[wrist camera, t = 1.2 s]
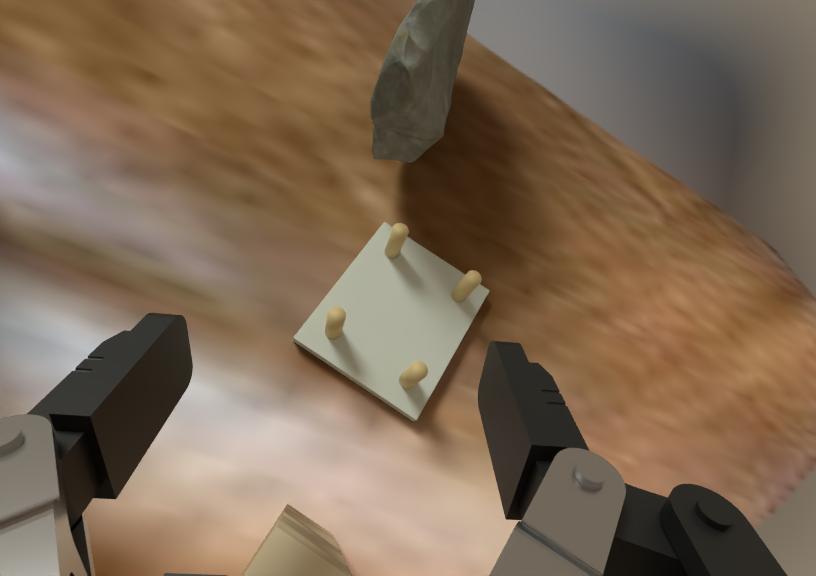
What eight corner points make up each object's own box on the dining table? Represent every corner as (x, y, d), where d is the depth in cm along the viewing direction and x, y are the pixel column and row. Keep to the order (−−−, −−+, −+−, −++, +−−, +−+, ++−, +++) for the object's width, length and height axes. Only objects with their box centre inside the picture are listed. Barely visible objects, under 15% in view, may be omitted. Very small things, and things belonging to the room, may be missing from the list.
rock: (409, 223, 43) (485, 45, 25) (349, 203, 42) (383, 5, 24) (459, 55, 54) (535, -150, 36) (412, 37, 54) (467, -180, 36)
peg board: (293, 341, 36) (292, 322, 31) (382, 228, 42) (392, 197, 37) (413, 421, 35) (429, 414, 31) (484, 295, 42) (507, 273, 37)
